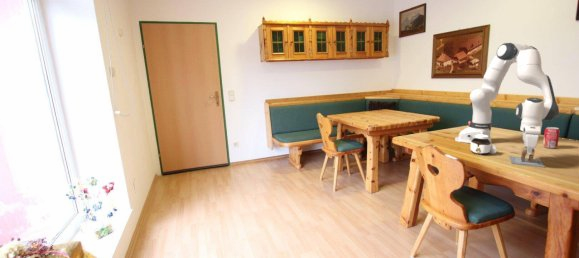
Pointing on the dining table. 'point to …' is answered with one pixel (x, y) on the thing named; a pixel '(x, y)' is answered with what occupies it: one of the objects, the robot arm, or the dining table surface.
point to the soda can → (551, 137)
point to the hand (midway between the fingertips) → (527, 151)
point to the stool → (524, 152)
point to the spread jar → (482, 145)
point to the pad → (526, 162)
